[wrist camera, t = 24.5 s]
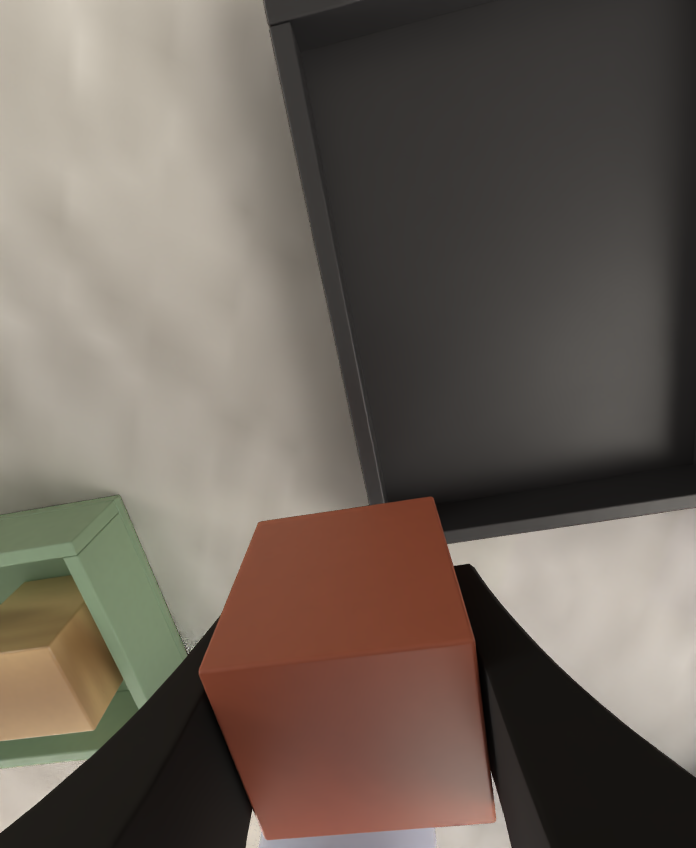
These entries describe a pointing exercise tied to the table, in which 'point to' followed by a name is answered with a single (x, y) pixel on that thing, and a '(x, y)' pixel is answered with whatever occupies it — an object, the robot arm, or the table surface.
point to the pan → (505, 247)
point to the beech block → (52, 662)
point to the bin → (93, 609)
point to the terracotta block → (351, 676)
